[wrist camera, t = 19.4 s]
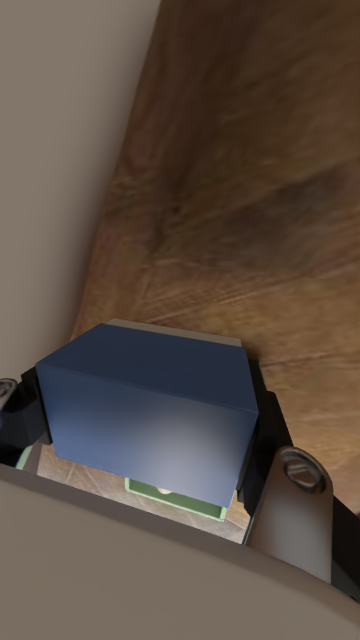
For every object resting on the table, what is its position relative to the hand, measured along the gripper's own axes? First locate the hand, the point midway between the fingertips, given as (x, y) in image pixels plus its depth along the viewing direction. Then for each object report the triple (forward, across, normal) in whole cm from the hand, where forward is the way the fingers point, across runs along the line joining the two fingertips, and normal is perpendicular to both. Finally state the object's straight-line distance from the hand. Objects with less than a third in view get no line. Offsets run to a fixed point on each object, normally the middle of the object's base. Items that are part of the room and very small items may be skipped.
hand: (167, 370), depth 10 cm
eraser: (+1, 0, 0) cm, 1 cm away
